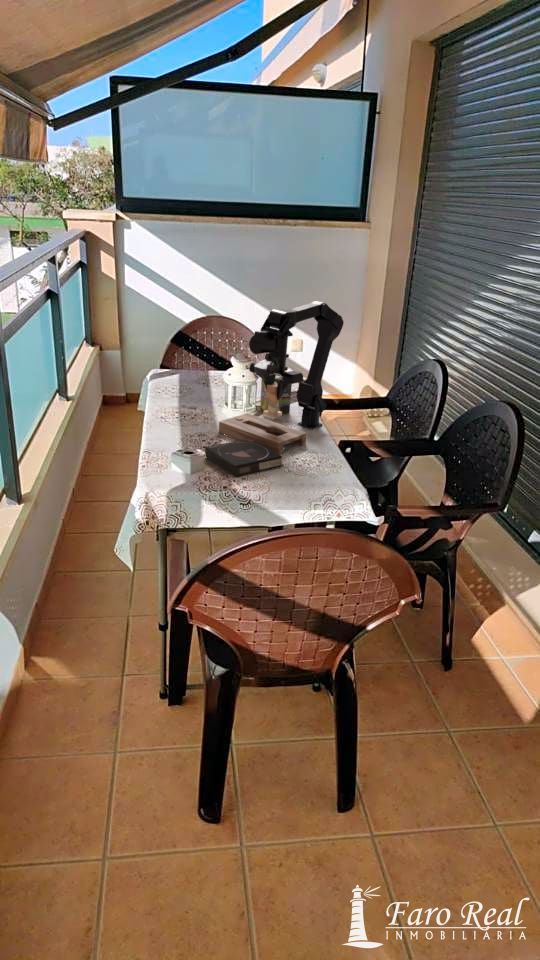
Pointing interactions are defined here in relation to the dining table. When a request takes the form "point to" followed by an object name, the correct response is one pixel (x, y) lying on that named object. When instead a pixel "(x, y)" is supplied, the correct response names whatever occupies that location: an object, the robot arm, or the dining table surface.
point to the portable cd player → (243, 457)
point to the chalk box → (283, 404)
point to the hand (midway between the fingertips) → (273, 398)
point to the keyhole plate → (261, 432)
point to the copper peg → (272, 402)
